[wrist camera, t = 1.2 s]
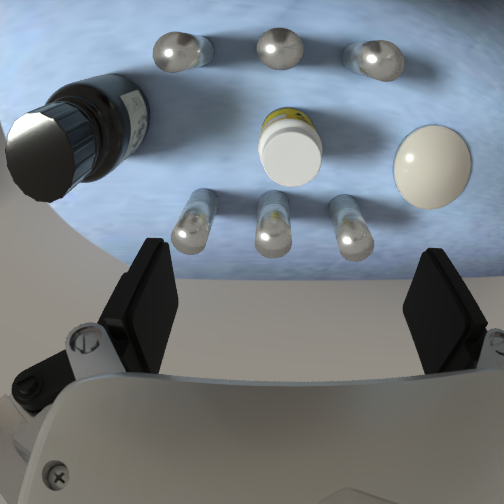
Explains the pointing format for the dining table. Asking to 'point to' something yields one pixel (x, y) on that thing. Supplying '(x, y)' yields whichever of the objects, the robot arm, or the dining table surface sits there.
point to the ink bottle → (76, 136)
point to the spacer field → (274, 202)
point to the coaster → (431, 166)
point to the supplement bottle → (290, 147)
